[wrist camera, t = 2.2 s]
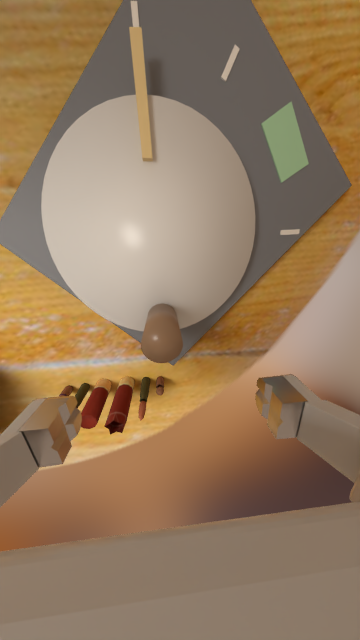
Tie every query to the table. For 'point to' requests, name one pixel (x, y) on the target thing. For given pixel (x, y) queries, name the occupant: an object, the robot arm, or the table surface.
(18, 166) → the table surface
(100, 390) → the ammunition
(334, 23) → the table surface
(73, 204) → the dial
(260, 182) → the dial plate
